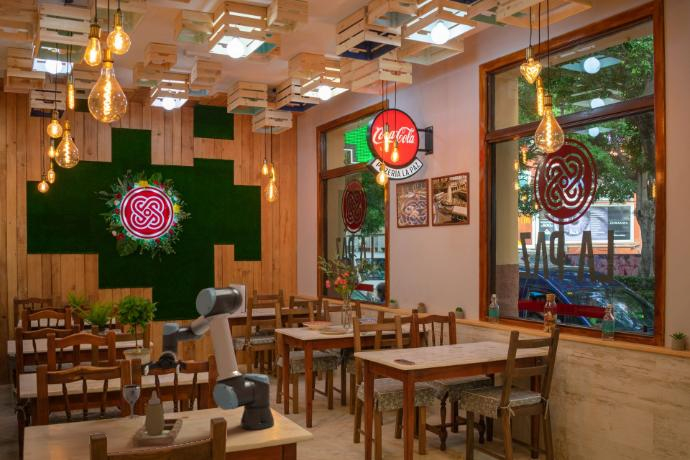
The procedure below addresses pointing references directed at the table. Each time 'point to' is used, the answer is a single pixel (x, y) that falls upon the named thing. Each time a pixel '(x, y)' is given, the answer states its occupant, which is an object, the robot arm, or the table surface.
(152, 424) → the squeeze bottle
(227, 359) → the robot arm
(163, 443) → the board
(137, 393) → the wine glass
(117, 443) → the table surface
